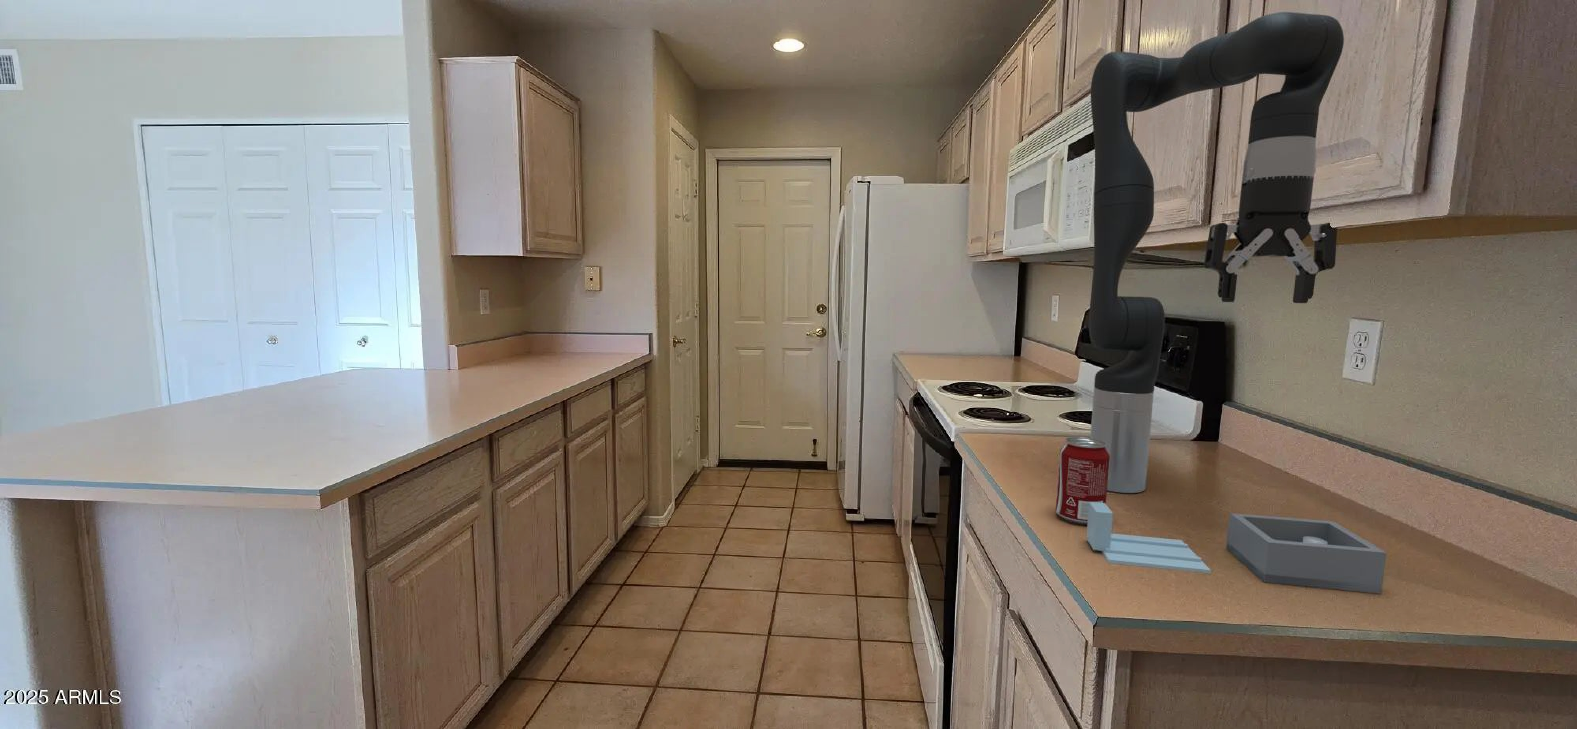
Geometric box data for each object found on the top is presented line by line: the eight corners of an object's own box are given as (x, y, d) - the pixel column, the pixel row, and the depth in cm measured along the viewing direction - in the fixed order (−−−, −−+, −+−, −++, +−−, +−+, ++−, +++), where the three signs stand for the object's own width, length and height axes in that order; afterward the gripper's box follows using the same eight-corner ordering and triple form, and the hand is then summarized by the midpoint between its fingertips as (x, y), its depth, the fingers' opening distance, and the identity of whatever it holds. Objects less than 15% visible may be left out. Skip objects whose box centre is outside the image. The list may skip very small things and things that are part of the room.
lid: (1081, 536, 91) (1084, 495, 90) (1180, 545, 88) (1185, 503, 87) (1098, 564, 82) (1101, 519, 81) (1210, 576, 79) (1214, 529, 78)
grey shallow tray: (1226, 548, 86) (1230, 513, 86) (1328, 557, 84) (1333, 521, 83) (1263, 582, 77) (1268, 542, 76) (1380, 593, 74) (1386, 552, 73)
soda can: (1110, 529, 93) (1116, 448, 91) (1060, 524, 94) (1066, 445, 92) (1097, 512, 99) (1103, 437, 98) (1051, 509, 101) (1056, 434, 99)
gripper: (1322, 181, 85) (1308, 303, 87) (1204, 183, 88) (1192, 300, 90) (1359, 171, 78) (1342, 304, 80) (1229, 174, 81) (1216, 302, 83)
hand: (1263, 302), depth 85 cm, fingers open, 8 cm apart
